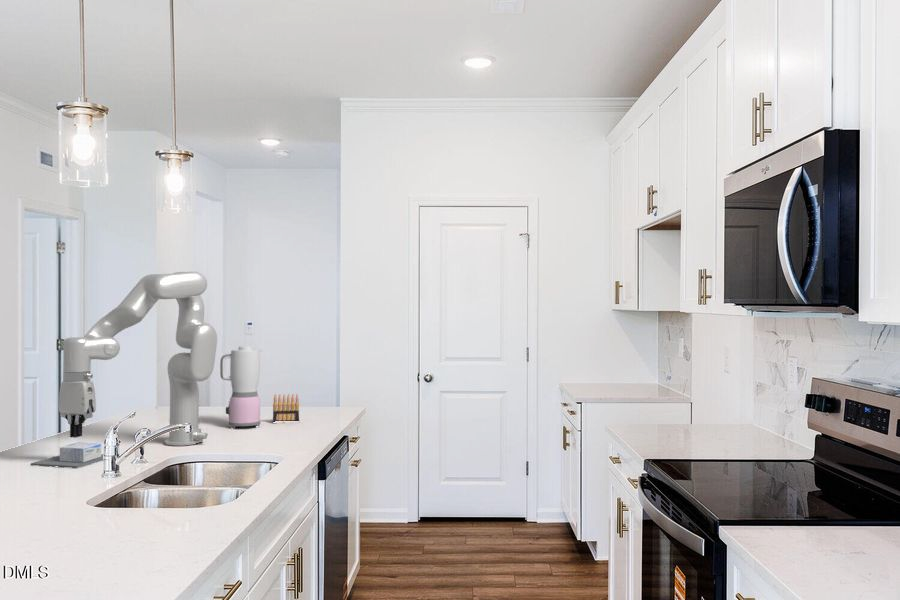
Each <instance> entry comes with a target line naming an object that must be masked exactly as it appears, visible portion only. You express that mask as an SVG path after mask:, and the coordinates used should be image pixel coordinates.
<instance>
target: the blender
mask: <svg viewBox="0 0 900 600" xmlns="http://www.w3.org/2000/svg"><path fill="white" fill-rule="evenodd" d="M261 352H262V350H261V349H253V347H252V345H251V346H249V345H246V346H244V345H240V346H238V349H232V350H231V351H230V353H226V354H223V355H222V356H221V358H220V365H219V368H220V372H219V373H220V379H222V380H224V381H230V383H231V389H232V391H231V396H230V398H229V400H228V406H226V407H225V415H228V425H229V426H230V428H231V427H232V428H235V429H236V428H237V427H253V426H255V427H256V426H259V425H261V399H260V397H259V395H258V387H259V380H260V373H261V372H260V369H261V368H260V365H261V360H260V359H261V358H260V353H261ZM226 359H230V362H229V363H230V365H229V367H230V371H229V374H230V376H229V375H226ZM259 427H260V426H259Z"/></svg>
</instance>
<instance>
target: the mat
mask: <svg viewBox="0 0 900 600" xmlns="http://www.w3.org/2000/svg"><path fill="white" fill-rule="evenodd" d="M103 455H104V454H102V453H101V457H100V458H97V459H93V460H90V461H87V462H83V463H82V462H65V461H60V454H59V455H55V456H53V457H48V458H45V459H42V460H41V459H40V460H38V461H33V462H30V466H34V465H39V466H38V467H49V466H58V467H57V468H64V467H72V468H71V469H79V467H80V468H83V467H86V466H90V465H93V464H95V462H96V463H99V462H101V461H104V460H103ZM98 461H99V462H98ZM92 463H93V464H92ZM85 465H86V466H85ZM82 466H83V467H82Z"/></svg>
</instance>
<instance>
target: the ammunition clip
mask: <svg viewBox="0 0 900 600" xmlns="http://www.w3.org/2000/svg"><path fill="white" fill-rule="evenodd" d="M286 397H287V398H286ZM277 398H278V399H277ZM272 408H273V409H272V423H273V422H275V421H299V422H300V398H299V394H298V393H296V395H294V393H292V394H291V396H290V394H289V393H288V394H287V396H286V394H285V393H284V394H283V396H282V395H281V393H279V394H278V396H277V394H276V393H275V394H274V396H273V405H272Z"/></svg>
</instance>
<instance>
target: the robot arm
mask: <svg viewBox="0 0 900 600" xmlns="http://www.w3.org/2000/svg"><path fill="white" fill-rule="evenodd" d="M207 286H208V280H207V278H206V276H205V275H204V274H203V273H202V272H199V271H176V272H172V273H156V274H147V275H144V276H143V277H141V278H140V280H139V281H138V282H137V283H136V284H135V285H134V287H133V288H132V289H131V290H130V291H129V293H128V294H127V295H126V296H125V297H124V299H123V300H122V301H121V302H120V303H119V304H118V305H117V306H116V307H115V308H114V309H112V310H111V311H110V312H108V313H107V314H106V315H104V316H102V317H101V318H100V319H99V320H97V321H96V322H95V324H94V325H92V327H91V328H90V329H89V330H88V331H87V333H86V334H85V335H84V336H82V337H81V336H80V337H79V336H78V337H77V336H76V337H75V336H73V337H72V336H71V337H67V338H65V339H64V340H63V348H62V349H63V350H62V351H63V356H62V357H63V363H62V364H63V365H62V372H63V373H62V382H61V384H60V387H59V388H60V389H59V394H58V412H59V413H60V415H59V416H60V418H64V419H66V421H67V423H68V425H69V437H70V438H79V437H82V436H83V424H84V423H85V421H86V420H87V419H91V418H93V413H95V412H96V407H97V406H96V405H97V404H96V403H97V402H96V391H95V386H94V382H93V381H91V379H92V378H93V377H94V375H93V373H91V370H92V368H91V367H92V362H91V360H100V361H101V360H102V361H107V360H108V361H109V360H112V359H114V358H115V357H117V355H118V354H119V353H120V349H121V345H120V342H119V341H118V340H117V339H115V338H114V337H116V336H117V334H119V333H120V332H122V331H123V330H126V329H129V328H131V327H133V326H135V325H137V324H139V323H140V322H142V321H143V319H144V318H145V317H146V315H148V313H149V312H150V311H151V309H152V308H153V307H154V305H156V303H157V302H158V301H160V300H174V299H175V301H176V302H177V304H178V305H177V306H178V318H177V323H176V324H177V325H176V331H175V341H176V344H177V346H178V347H180V348H182V349H186V350H190V352H178V353H175V354H174V355H173V356H171V358H170V359H169V360H168V362H167V376H168V380H169V381H168V382H169V426H170V425H172V424H177V423H191V424H192V426H193V430H192V432H191V433H186V432H185V431H184V430H183V429H179V430H175V431H171V432H170V431H169V434H168V435H169V438H166V439H164V445H167V446H176V447H177V446H183V447H184V446H193V445H197V444H196V443H198V444H200V443H199V442H201V443H203V442H202V441H204V440H206V439H207V438H208V435H209V434H208V433H207V432H202V428H199V411H200V410H199V407H200V406H199V403H200V402H199V397H200V391H199V390H200V389H199V385H198V382H205V381H206V380H208V379H209V378H210V377H211V375H212V374H213V371H214V367H215V362H216V354H217V346H218V334H217V331H216V329H215V327H214V326H213V325H211V324H210V323H207V322H204V320H205V304H204V300H203V298H202V296H201V295H202V294H204V293H205V292H206V290H207V288H208V287H207Z"/></svg>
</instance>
